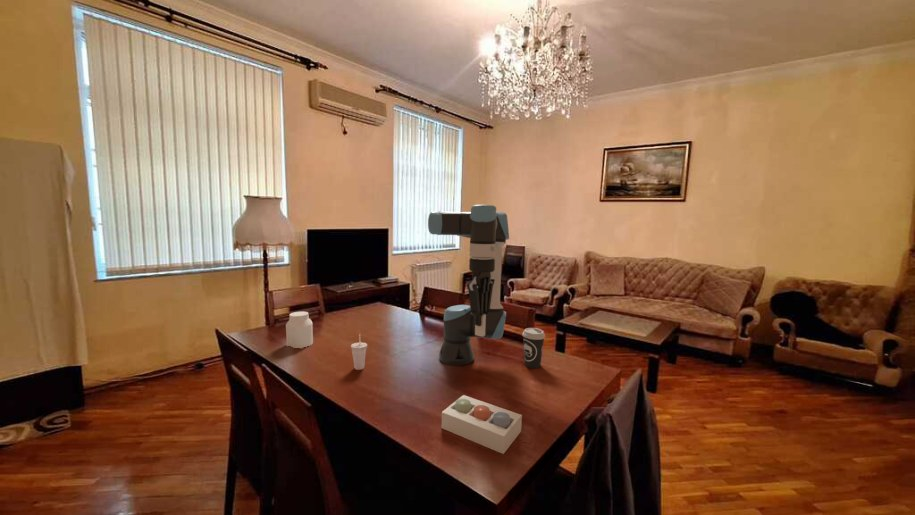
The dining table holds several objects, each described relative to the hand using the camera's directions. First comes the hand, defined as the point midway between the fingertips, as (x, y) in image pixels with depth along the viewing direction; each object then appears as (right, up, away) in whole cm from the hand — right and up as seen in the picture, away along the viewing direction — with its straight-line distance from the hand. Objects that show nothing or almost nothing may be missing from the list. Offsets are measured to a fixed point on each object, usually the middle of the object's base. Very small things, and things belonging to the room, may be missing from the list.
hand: (480, 335), depth 105 cm
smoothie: (-47, -22, +36) cm, 63 cm away
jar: (-82, -18, +61) cm, 103 cm away
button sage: (-5, -26, 0) cm, 27 cm away
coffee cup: (+25, -22, +42) cm, 54 cm away
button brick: (0, -27, -3) cm, 27 cm away
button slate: (+5, -27, -7) cm, 29 cm away
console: (0, -27, -3) cm, 27 cm away
